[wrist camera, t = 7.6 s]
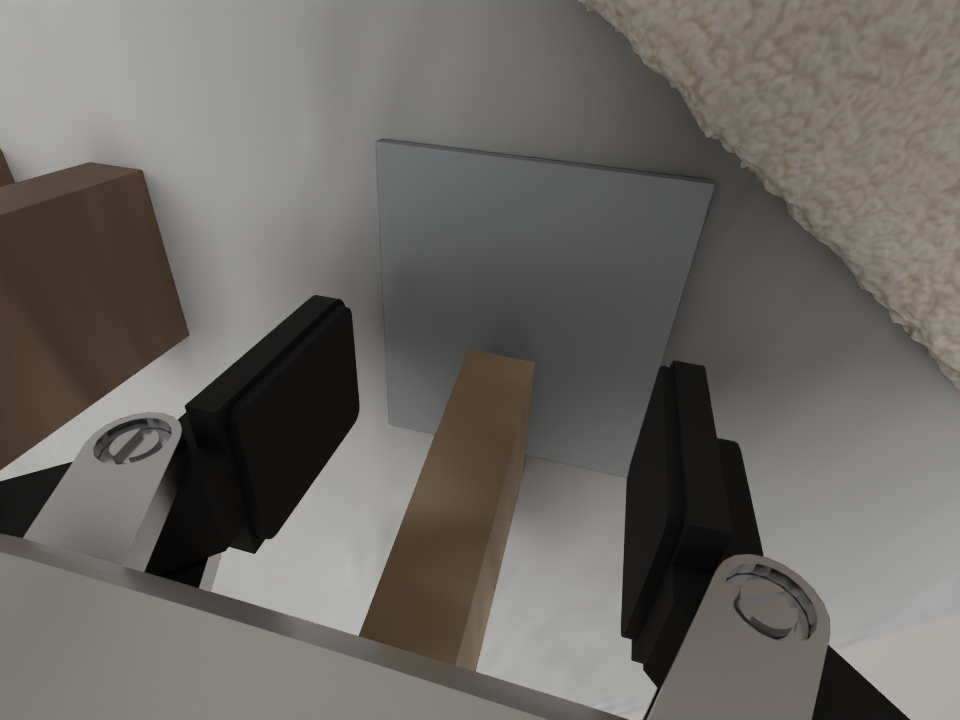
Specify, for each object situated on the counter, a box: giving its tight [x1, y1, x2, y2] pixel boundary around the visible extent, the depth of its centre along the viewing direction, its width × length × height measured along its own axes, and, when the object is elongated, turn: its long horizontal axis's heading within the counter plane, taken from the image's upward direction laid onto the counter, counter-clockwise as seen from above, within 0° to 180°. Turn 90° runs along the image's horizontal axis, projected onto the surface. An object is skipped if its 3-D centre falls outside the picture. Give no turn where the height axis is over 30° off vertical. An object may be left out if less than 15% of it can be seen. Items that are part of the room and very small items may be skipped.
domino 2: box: [359, 349, 535, 672], centre depth 12 cm, size 2×5×8 cm, turn 176°
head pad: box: [376, 139, 715, 478], centre depth 13 cm, size 7×8×1 cm
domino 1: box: [0, 162, 189, 470], centre depth 12 cm, size 2×5×8 cm, turn 176°
